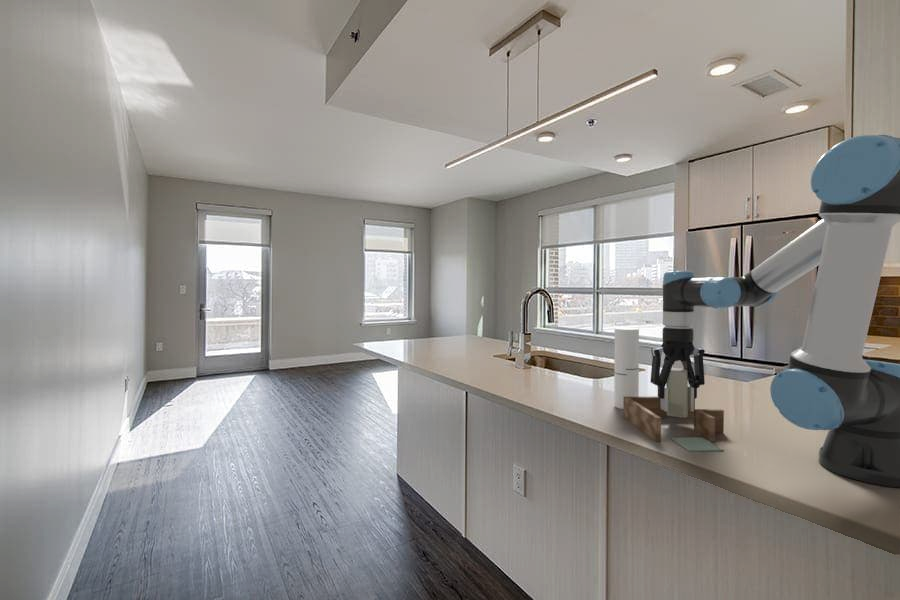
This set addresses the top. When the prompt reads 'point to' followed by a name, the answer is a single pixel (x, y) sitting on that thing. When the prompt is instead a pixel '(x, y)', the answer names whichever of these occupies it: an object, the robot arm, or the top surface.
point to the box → (677, 393)
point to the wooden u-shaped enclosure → (649, 415)
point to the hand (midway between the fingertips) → (677, 409)
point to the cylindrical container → (626, 365)
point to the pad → (696, 444)
